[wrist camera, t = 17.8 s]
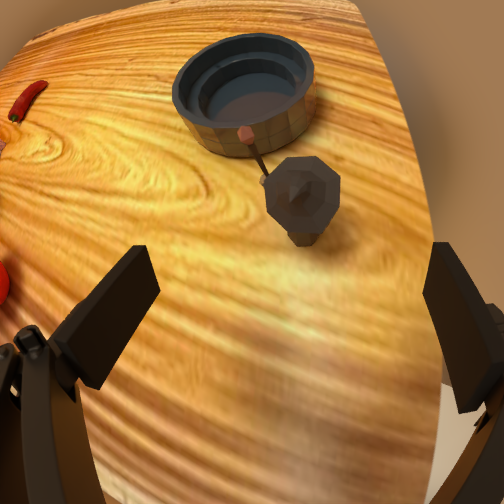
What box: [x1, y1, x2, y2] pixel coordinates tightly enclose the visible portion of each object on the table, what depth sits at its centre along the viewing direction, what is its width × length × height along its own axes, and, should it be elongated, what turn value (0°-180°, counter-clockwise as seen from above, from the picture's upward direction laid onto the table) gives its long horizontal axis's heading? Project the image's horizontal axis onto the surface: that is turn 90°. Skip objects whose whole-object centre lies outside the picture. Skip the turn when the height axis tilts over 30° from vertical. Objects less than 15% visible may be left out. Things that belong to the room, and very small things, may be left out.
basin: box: [172, 33, 317, 157], centre depth 32 cm, size 16×16×6 cm
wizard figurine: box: [237, 126, 340, 246], centre depth 24 cm, size 8×6×12 cm
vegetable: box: [8, 80, 48, 123], centre depth 47 cm, size 4×5×12 cm
